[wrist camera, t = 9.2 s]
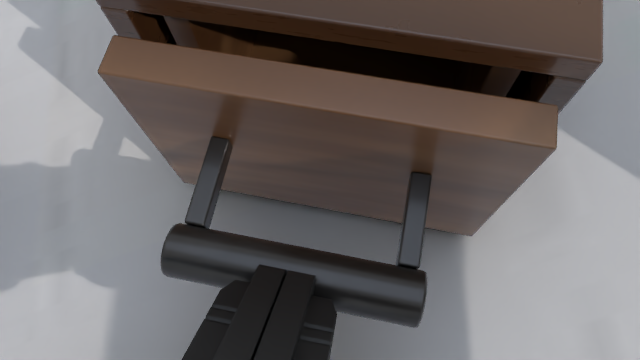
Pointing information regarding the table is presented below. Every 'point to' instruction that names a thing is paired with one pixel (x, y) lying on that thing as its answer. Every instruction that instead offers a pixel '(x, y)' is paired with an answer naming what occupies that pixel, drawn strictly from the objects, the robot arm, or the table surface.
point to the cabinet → (413, 31)
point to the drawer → (326, 148)
